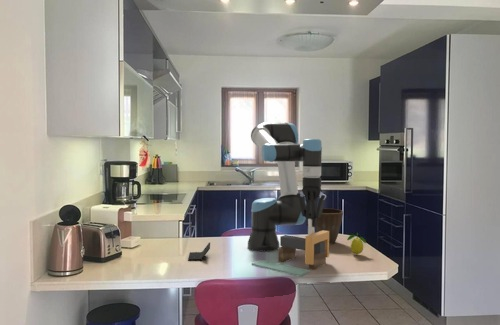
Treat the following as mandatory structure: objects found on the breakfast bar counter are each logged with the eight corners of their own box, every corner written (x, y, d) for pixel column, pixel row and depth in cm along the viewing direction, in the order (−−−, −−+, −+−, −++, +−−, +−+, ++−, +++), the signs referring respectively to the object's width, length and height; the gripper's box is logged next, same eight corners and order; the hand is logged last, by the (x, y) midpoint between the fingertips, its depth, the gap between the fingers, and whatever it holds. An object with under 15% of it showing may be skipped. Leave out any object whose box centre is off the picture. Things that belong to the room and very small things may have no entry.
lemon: (346, 254, 180) (347, 232, 179) (352, 252, 184) (352, 230, 184) (360, 257, 176) (361, 235, 175) (366, 254, 180) (366, 232, 180)
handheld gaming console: (185, 250, 179) (199, 233, 179) (197, 259, 181) (211, 242, 181) (187, 261, 168) (202, 243, 168) (200, 270, 170) (215, 252, 170)
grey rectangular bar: (280, 245, 171) (280, 236, 171) (285, 244, 175) (285, 234, 174) (320, 253, 160) (320, 243, 160) (324, 251, 163) (324, 241, 163)
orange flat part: (305, 263, 158) (305, 236, 158) (322, 255, 169) (322, 230, 169) (311, 264, 156) (312, 237, 156) (328, 256, 168) (329, 231, 167)
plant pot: (325, 247, 193) (326, 214, 192) (306, 240, 206) (306, 209, 205) (348, 243, 200) (349, 211, 200) (328, 237, 213) (329, 207, 212)
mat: (251, 264, 164) (251, 263, 164) (261, 260, 170) (261, 259, 170) (300, 276, 150) (300, 274, 150) (309, 271, 155) (309, 270, 155)
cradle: (278, 261, 169) (278, 247, 168) (290, 256, 177) (291, 243, 176) (314, 269, 158) (314, 254, 158) (325, 263, 166) (326, 249, 166)
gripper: (293, 176, 164) (292, 233, 165) (321, 178, 156) (321, 238, 157) (302, 175, 170) (302, 230, 171) (330, 177, 162) (329, 235, 163)
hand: (311, 234), depth 164 cm, fingers closed
